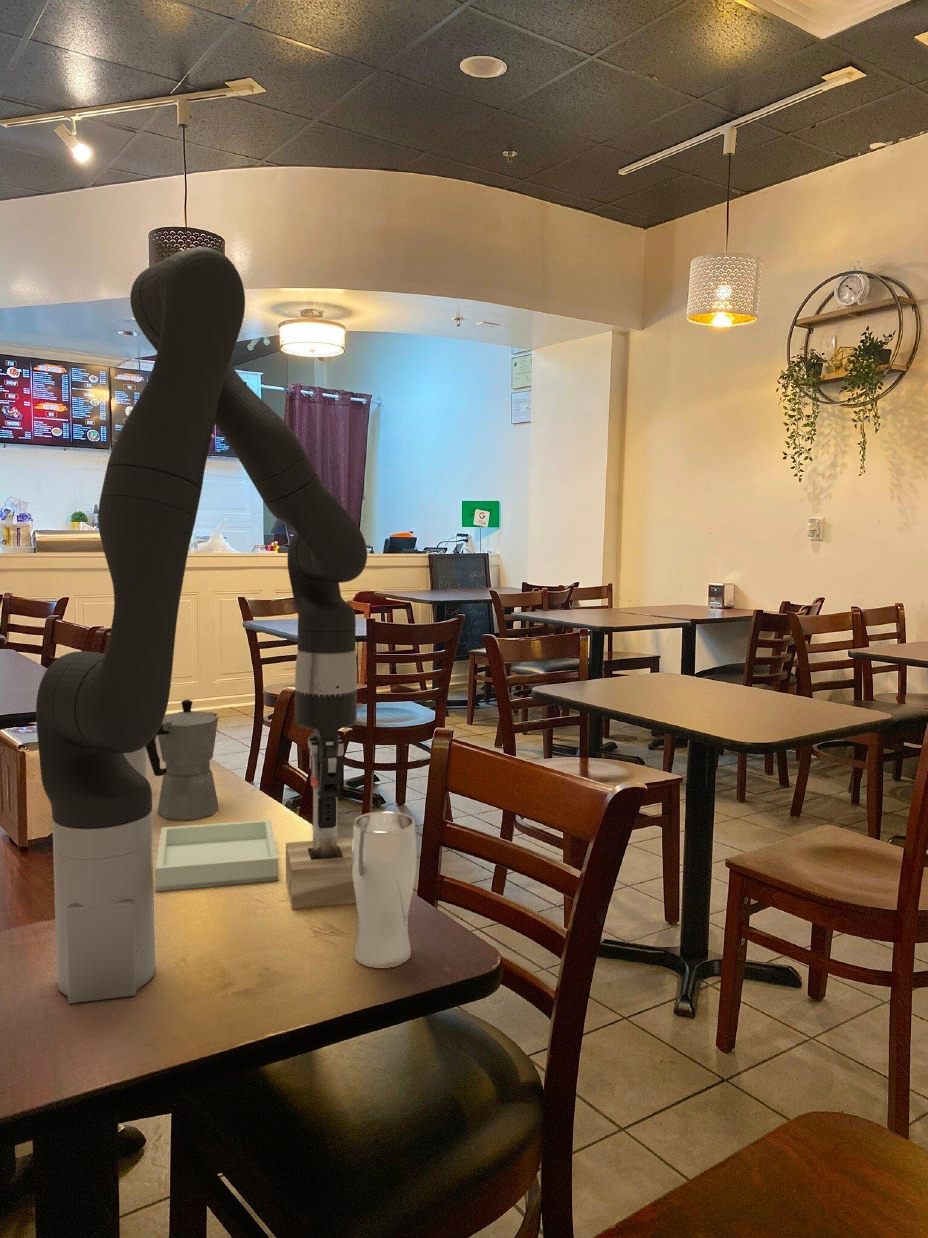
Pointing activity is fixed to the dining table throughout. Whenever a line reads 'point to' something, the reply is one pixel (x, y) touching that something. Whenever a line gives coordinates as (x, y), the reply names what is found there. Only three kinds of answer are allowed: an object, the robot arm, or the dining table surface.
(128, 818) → the robot arm
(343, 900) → the block
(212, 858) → the tray
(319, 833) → the pin
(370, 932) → the beer glass
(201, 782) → the coffeepot
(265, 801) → the dining table surface
